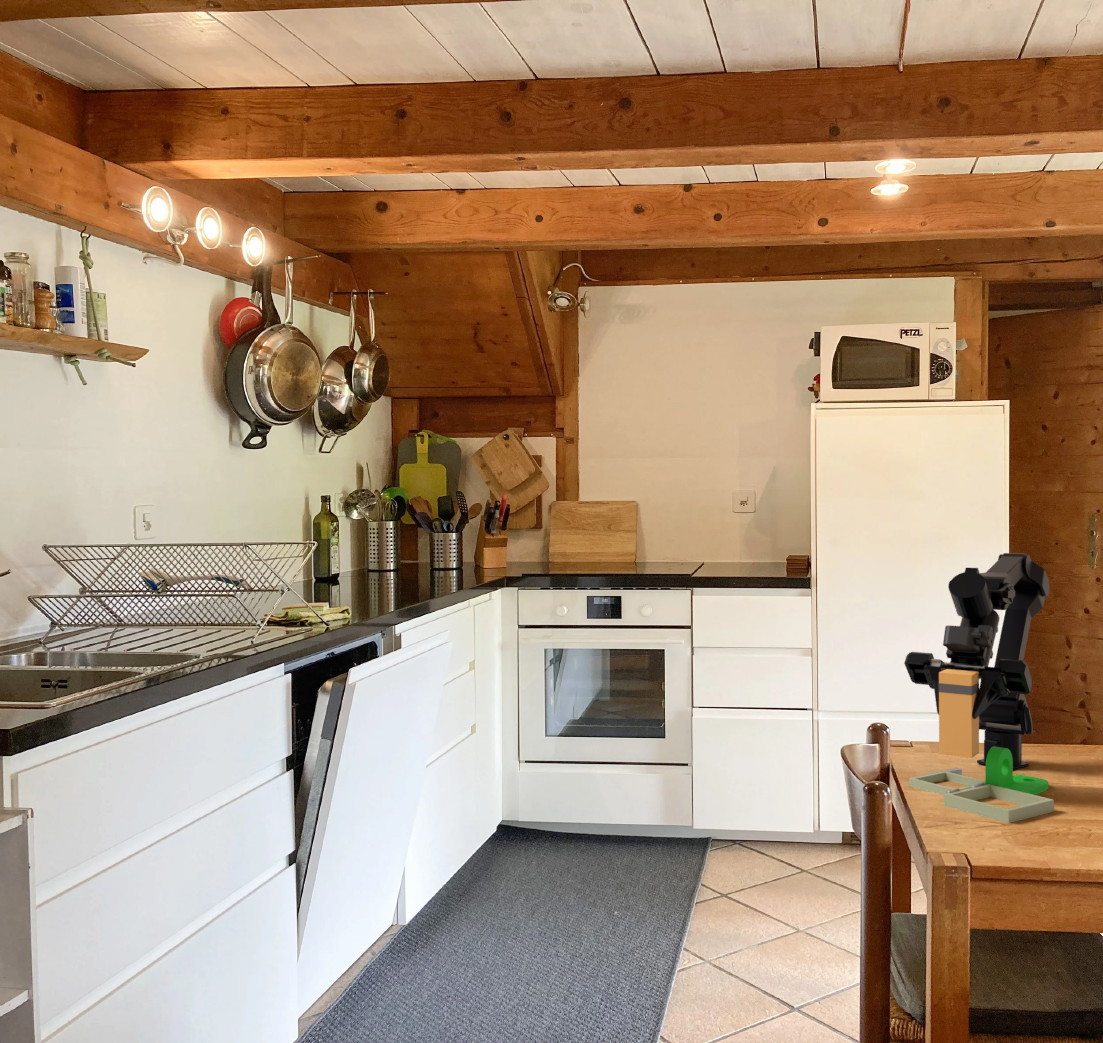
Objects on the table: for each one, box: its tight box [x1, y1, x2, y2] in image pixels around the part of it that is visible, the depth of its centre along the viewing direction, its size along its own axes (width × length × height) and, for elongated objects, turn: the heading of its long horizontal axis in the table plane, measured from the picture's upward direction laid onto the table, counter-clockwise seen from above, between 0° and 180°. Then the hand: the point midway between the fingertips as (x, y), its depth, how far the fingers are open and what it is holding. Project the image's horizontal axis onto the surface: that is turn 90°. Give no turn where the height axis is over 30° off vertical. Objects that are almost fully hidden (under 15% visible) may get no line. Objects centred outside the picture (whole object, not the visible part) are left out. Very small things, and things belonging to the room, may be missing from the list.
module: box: [938, 669, 980, 759], centre depth 171 cm, size 4×5×13 cm
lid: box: [908, 771, 985, 796], centre depth 174 cm, size 9×9×2 cm
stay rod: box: [917, 767, 963, 777], centre depth 183 cm, size 10×1×1 cm, turn 123°
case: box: [943, 783, 1055, 824], centre depth 162 cm, size 11×12×3 cm
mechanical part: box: [984, 746, 1049, 796], centre depth 173 cm, size 12×6×8 cm, turn 134°
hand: (956, 715), depth 170 cm, fingers closed on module, 5 cm apart
